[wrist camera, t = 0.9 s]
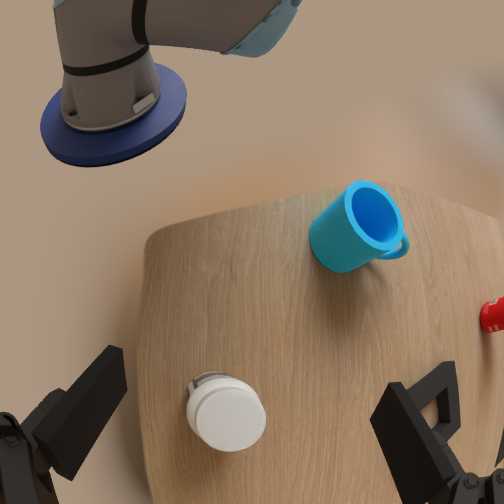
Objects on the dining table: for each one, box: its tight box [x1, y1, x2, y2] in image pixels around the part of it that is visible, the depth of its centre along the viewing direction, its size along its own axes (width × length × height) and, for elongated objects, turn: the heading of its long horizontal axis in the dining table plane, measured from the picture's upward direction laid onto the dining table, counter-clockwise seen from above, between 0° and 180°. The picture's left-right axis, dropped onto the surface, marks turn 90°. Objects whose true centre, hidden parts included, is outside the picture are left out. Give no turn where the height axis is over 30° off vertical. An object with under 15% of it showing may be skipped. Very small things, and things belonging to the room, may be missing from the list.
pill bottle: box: [185, 371, 266, 452], centre depth 19 cm, size 6×6×10 cm
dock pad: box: [406, 361, 461, 442], centre depth 27 cm, size 13×13×2 cm
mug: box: [309, 180, 409, 273], centre depth 30 cm, size 12×8×8 cm
